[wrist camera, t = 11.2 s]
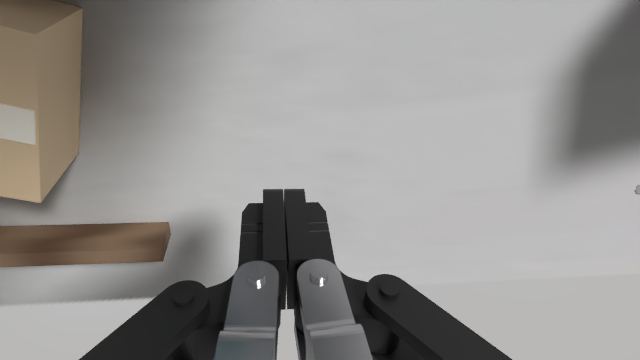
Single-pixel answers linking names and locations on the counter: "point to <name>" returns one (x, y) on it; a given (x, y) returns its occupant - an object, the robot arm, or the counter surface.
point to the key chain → (637, 190)
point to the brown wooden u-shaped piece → (83, 244)
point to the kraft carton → (38, 94)
